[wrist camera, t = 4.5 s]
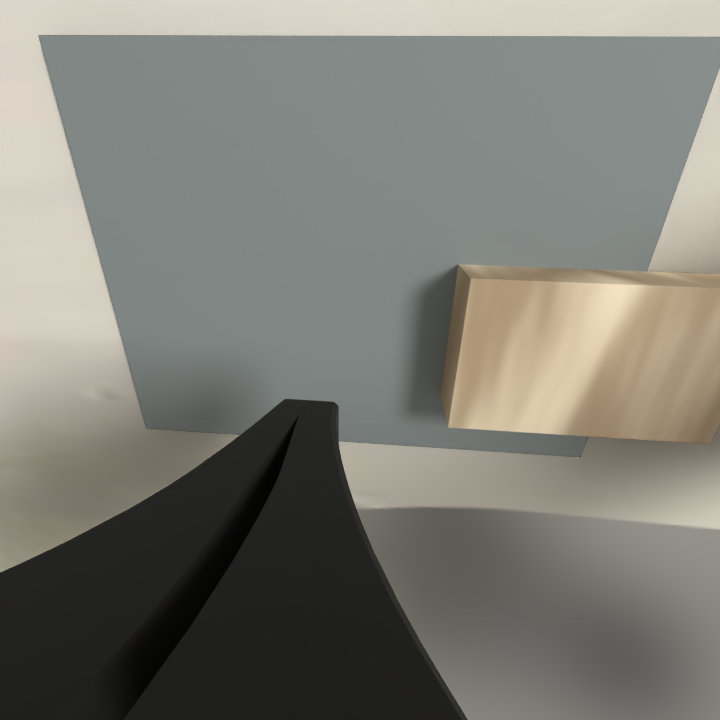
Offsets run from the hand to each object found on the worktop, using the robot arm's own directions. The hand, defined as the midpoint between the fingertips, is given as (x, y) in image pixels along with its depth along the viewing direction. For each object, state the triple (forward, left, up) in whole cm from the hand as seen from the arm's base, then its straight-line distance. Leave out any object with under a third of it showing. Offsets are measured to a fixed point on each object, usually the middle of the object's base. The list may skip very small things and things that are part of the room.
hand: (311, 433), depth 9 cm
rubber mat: (-1, -2, -8) cm, 8 cm away
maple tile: (-4, 0, -6) cm, 8 cm away
